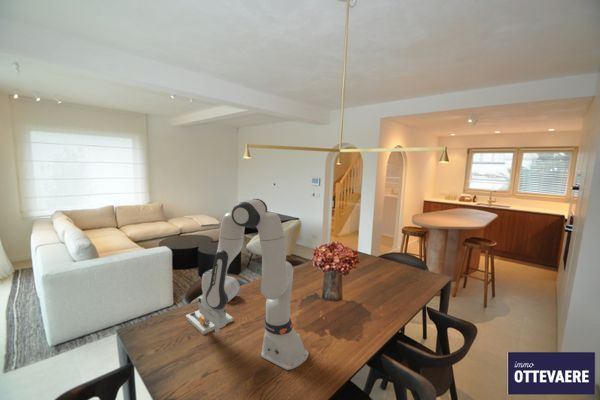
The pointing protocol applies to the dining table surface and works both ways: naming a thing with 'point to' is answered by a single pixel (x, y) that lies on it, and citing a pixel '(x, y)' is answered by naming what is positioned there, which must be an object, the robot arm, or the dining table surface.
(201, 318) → the orange slider
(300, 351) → the robot arm
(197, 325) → the panel
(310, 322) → the dining table surface
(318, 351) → the dining table surface
